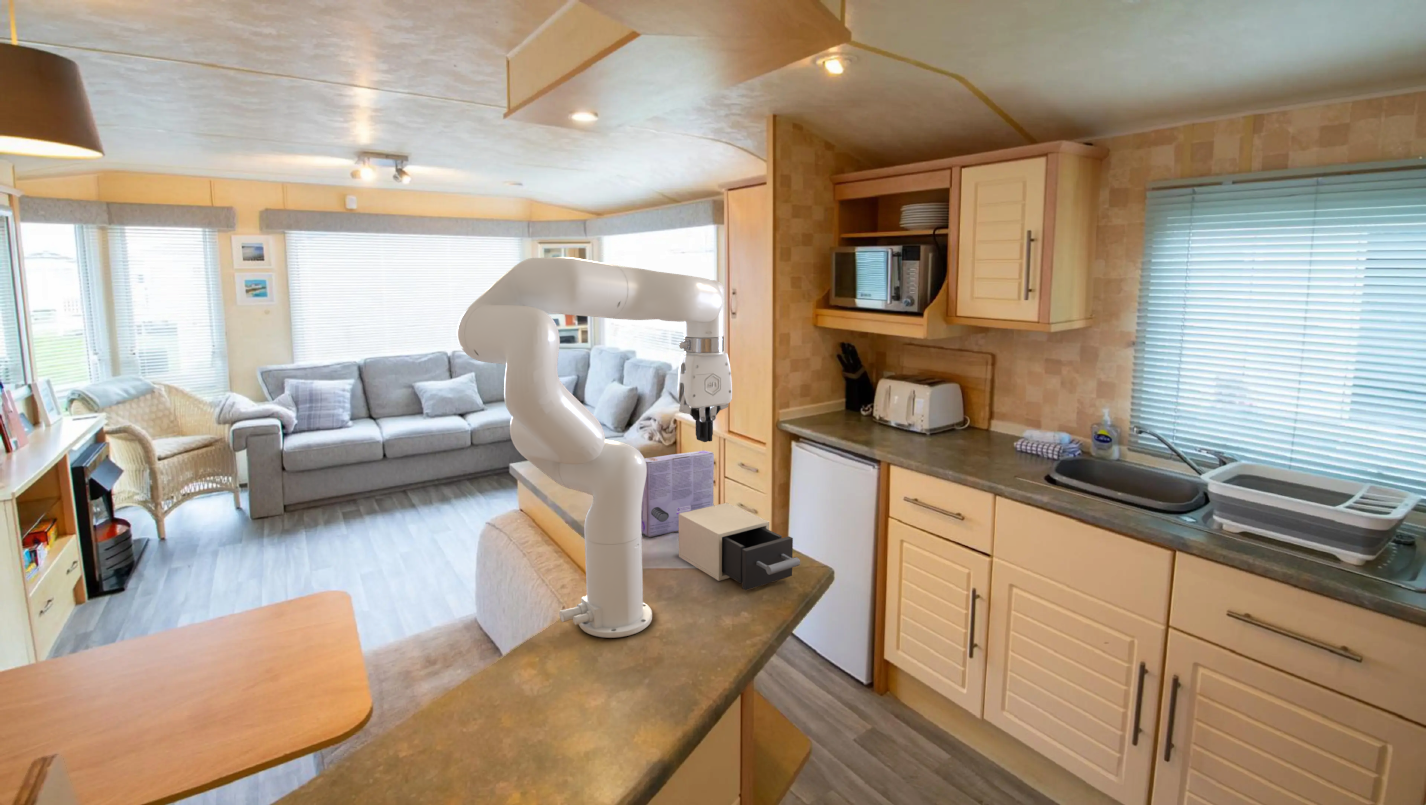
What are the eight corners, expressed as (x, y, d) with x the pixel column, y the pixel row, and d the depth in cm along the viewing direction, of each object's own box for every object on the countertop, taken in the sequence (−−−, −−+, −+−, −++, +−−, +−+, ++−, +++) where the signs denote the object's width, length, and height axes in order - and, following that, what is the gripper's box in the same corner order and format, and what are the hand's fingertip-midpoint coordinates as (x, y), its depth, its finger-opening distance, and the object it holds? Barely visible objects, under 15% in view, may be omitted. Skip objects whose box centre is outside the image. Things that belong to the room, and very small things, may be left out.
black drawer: (808, 584, 132) (809, 545, 131) (761, 599, 126) (761, 559, 124) (749, 553, 147) (750, 518, 145) (705, 566, 140) (704, 529, 139)
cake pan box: (707, 516, 172) (707, 447, 168) (718, 522, 167) (718, 451, 164) (637, 532, 161) (636, 458, 158) (648, 539, 157) (646, 463, 154)
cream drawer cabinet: (768, 565, 143) (769, 521, 141) (718, 580, 135) (718, 534, 134) (726, 543, 154) (727, 502, 153) (678, 556, 147) (678, 513, 146)
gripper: (681, 350, 125) (682, 449, 128) (747, 345, 133) (746, 439, 136) (659, 346, 131) (661, 441, 134) (724, 342, 139) (724, 432, 142)
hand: (704, 440), depth 135 cm, fingers closed
